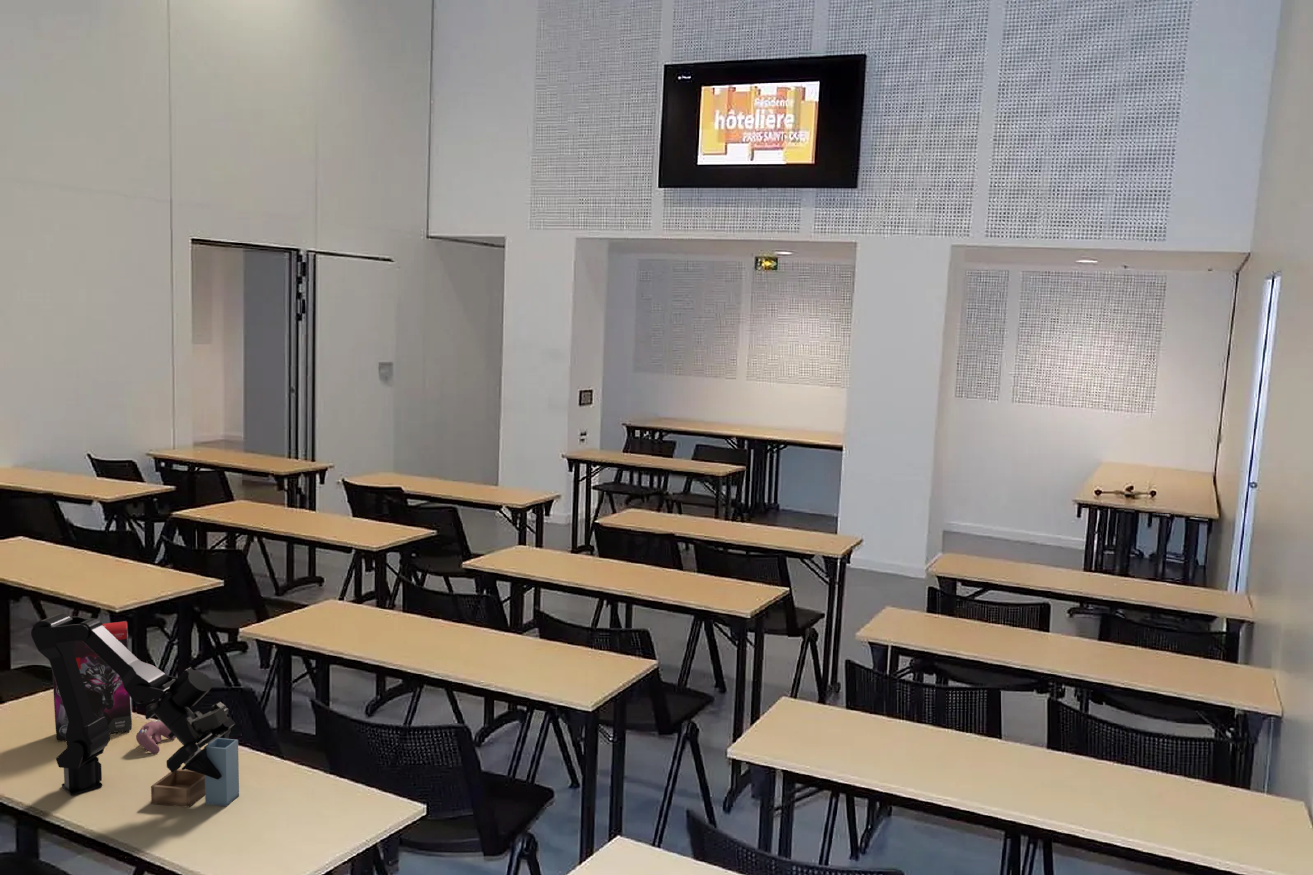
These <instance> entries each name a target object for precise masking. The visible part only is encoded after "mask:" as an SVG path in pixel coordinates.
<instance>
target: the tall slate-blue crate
mask: <svg viewBox="0 0 1313 875" xmlns="http://www.w3.org/2000/svg"><path fill="white" fill-rule="evenodd" d="M205 747H206V750H207V757H208V758H209V759H210V761H211V762H212V763H213V764H214V766H215V767H216V768H217V769H218V771H219V772H220V774H221V775H222V777H221V778H220V779H218V780H217V779H215V778H212V777H209V776H206V775H205V795H204V797H205V798H204V799H205V805H211V806H221V807H222V806H223V807H228V806H229V805H230V804H231V803H232V802H234V801H235V800H236V799H237V798H238V797H240V775H239V774H240V770H239V763H240V762H239V739H234V738H233V739H232V738H228V739H225V738H216V739H215V740H213V741H212V742H210V743H209V744H206V745H204V746H203V749H204V748H205Z"/></svg>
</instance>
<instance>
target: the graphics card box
mask: <svg viewBox="0 0 1313 875" xmlns="http://www.w3.org/2000/svg"><path fill="white" fill-rule="evenodd" d="M102 624H103V626H104V627H105V628H106V629H107V630H108V631H109V632H110V633H111V634H112V635H113V636H114V637H115V638H116V639H117V640H118V641H119V642H120V643H122V644H123V645H124V646H125V647H126V648H127V649H128V650H129V628H128V621H127V620H123V621H118V622H117V621H115V622H106V623H102ZM129 651H130V650H129ZM74 654H75V657H76V661H77V664H78V667H79V670H80V673H81V677H82V680H83V683H84V686H85V689H86V692H87V696H88V699H89V702H90V705H91V708H92V711H93V713H94V714H95V715H97V716H98V717H99V718H102V717H106V719H107V724H108V727H109V729H110V731H111V733H110V734H113V733H114V734H115V733H120V732H126V731H131V730H132V729H133V728H132V726H133V721H132V720H133V719H132V717H133V716H132V713H133V712H132V698H131V697H130V695H129V694H128V693H127V691H126V690H125V689H124V686H123V682H122V679H121V678H120V676H119V675H118V674H117V673H116V672H115V671H114V670H113V669H112V668H111V667H110V666H108V665H107V664H106V663H105V662H104V661H103V660H102V659H101V658H100V657H99V656H98V655H97V654H96V653H95V652H94V651H93V650H92V649H90V648H89V647H88V646H87V645H86V644H85V643H84V642H83V641H76V643H75V648H74ZM52 689H53V691H52V692H53V705H54V722H55V736H56V738H55V739H56V742H57V741H66V738H65V735H66V730H67V726H68V718H67V715H66V712H65V709H64V706H63V703H62V699H61V696H60V693H59V690H58V687H57V684H56V680H55V677H54V674H53V671H52Z"/></svg>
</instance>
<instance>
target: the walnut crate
mask: <svg viewBox="0 0 1313 875" xmlns="http://www.w3.org/2000/svg"><path fill="white" fill-rule="evenodd" d="M150 794H151V795H150V797H151V804H152V805H160V806H161V805H162V806H172V807H180V808H181V807H184V808H191V807H192V806H193V805H195V804H196V803H197V802H198V801H200V800H201V799H202V798H203V797H205V775H203V774H200V773H197V772H194V771H190V770H186V769H184V770H182V768H181V769H180V768H179V769H177V770H176V771H175V772H173V773H172V772H171V771H170V772H168V773H167V774H166V775H164V776H163V777H162V778H160V779H159V780H157V781H156V782H155V783H153V784H152V785H151V786H150Z"/></svg>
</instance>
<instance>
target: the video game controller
mask: <svg viewBox="0 0 1313 875" xmlns="http://www.w3.org/2000/svg"><path fill="white" fill-rule="evenodd" d="M170 733H171V731H170V730H169V729H168V728H167V727H166V726H165V725H164V724H163V723H162V722H161V721H160V720H159V719H157V720H151V721H149V722H146V723H144V724H143V725H142V727H141V728H140V729H139V731H138V732H137V733H136V735H135V740H136V742H137V743H138V744H139V746H142V747H143V748H144V749H145V750H146V751H148V752H149V753H151V754H158V753H159V752H160V746H159V745H158V744H159V743H161V742H162V737H164V738H165V739H169V740H175V739H177V738H176V737H175V736H174V737H173V738H170V737H169V736H168V735H169V734H170ZM156 743H157V744H156Z"/></svg>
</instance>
